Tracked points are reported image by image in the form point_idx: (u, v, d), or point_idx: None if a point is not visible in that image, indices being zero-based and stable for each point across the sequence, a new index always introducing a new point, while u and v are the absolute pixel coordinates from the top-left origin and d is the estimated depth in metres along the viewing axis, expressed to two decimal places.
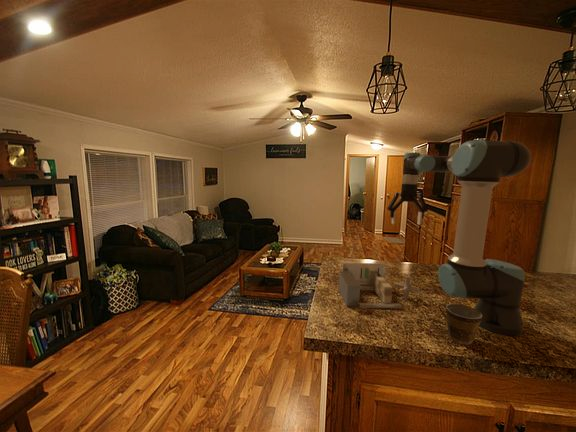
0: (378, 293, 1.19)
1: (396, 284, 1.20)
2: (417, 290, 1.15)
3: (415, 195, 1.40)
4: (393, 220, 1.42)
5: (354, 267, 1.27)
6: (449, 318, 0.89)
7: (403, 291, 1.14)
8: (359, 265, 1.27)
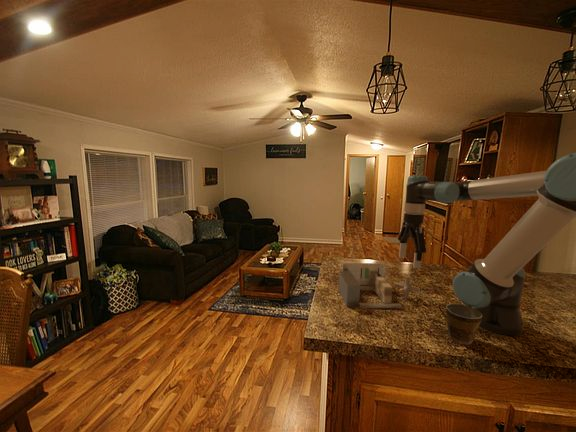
0: (378, 293, 1.19)
1: (396, 284, 1.20)
2: (417, 290, 1.15)
3: (413, 228, 1.11)
4: None
5: (354, 267, 1.27)
6: (449, 318, 0.89)
7: (403, 291, 1.14)
8: (359, 265, 1.27)
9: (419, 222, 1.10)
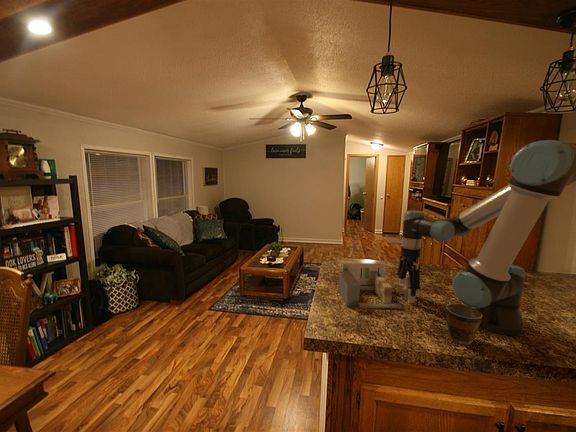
0: (378, 293, 1.19)
1: (396, 284, 1.20)
2: (417, 290, 1.15)
3: (410, 263, 1.13)
4: (399, 288, 1.24)
5: (354, 267, 1.27)
6: (449, 318, 0.89)
7: (403, 291, 1.14)
8: (359, 265, 1.27)
9: (416, 257, 1.12)
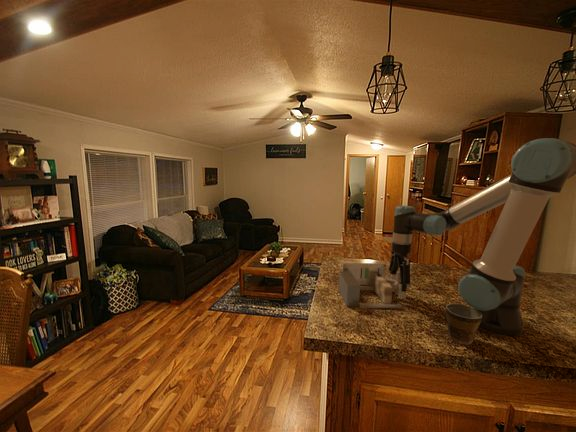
0: (378, 293, 1.19)
1: (387, 280, 1.20)
2: (408, 285, 1.15)
3: (401, 258, 1.13)
4: None
5: (354, 267, 1.27)
6: (449, 318, 0.89)
7: (394, 286, 1.14)
8: (359, 265, 1.27)
9: (406, 252, 1.12)
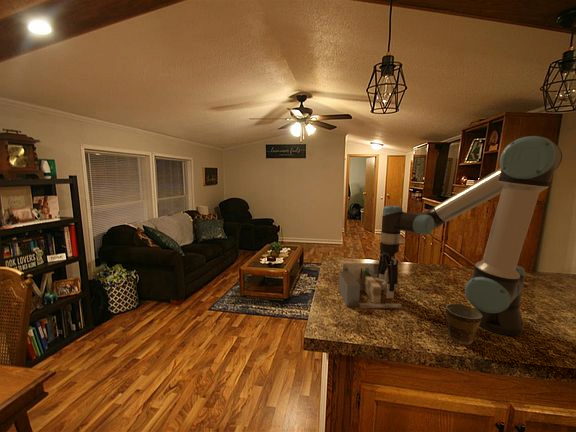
0: (368, 293, 1.19)
1: (376, 279, 1.20)
2: (396, 285, 1.15)
3: (388, 258, 1.13)
4: (379, 283, 1.23)
5: (354, 267, 1.27)
6: (449, 318, 0.89)
7: (382, 286, 1.14)
8: (359, 265, 1.27)
9: (394, 252, 1.12)
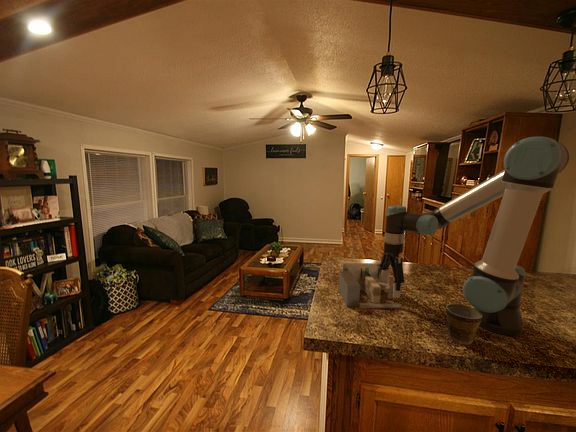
0: (367, 293, 1.19)
1: (379, 284, 1.20)
2: None
3: (392, 258, 1.13)
4: None
5: (354, 267, 1.27)
6: (449, 318, 0.89)
7: (385, 290, 1.14)
8: (359, 265, 1.27)
9: (398, 252, 1.12)
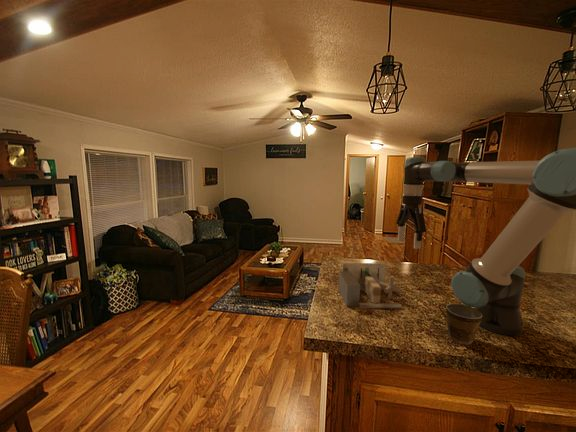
0: (367, 293, 1.19)
1: (380, 283, 1.20)
2: (400, 291, 1.14)
3: (412, 210, 1.12)
4: None
5: (354, 267, 1.27)
6: (449, 318, 0.89)
7: (385, 291, 1.14)
8: (359, 265, 1.27)
9: (418, 203, 1.12)
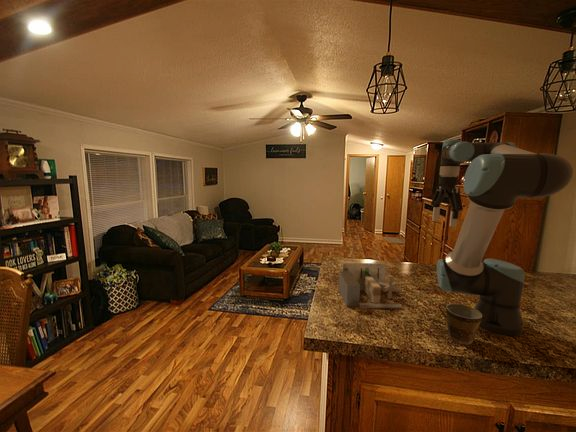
0: (367, 293, 1.19)
1: (379, 283, 1.21)
2: (399, 289, 1.15)
3: (449, 190, 1.19)
4: (433, 216, 1.31)
5: (354, 267, 1.27)
6: (449, 318, 0.89)
7: (384, 290, 1.15)
8: (359, 265, 1.27)
9: (454, 183, 1.18)
